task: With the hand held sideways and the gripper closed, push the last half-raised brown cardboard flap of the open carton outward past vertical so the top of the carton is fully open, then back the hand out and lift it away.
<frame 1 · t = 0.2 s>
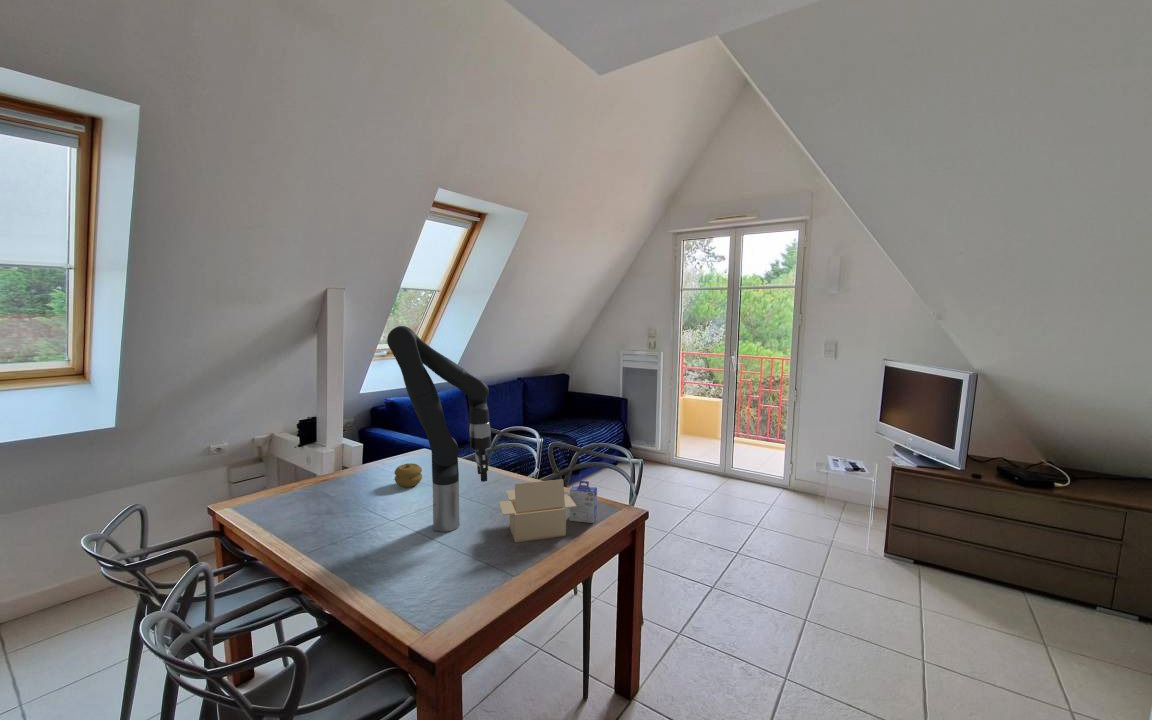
hand: (482, 477, 174), 17 cm above the table, tool pointing down, fingers open, 8 cm apart
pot: (408, 485, 212), on the table
carton: (537, 531, 169), on the table
near flap: (540, 495, 163), point 15 cm above the table, hinge at 75.0°
ink cartridge box: (583, 519, 179), on the table
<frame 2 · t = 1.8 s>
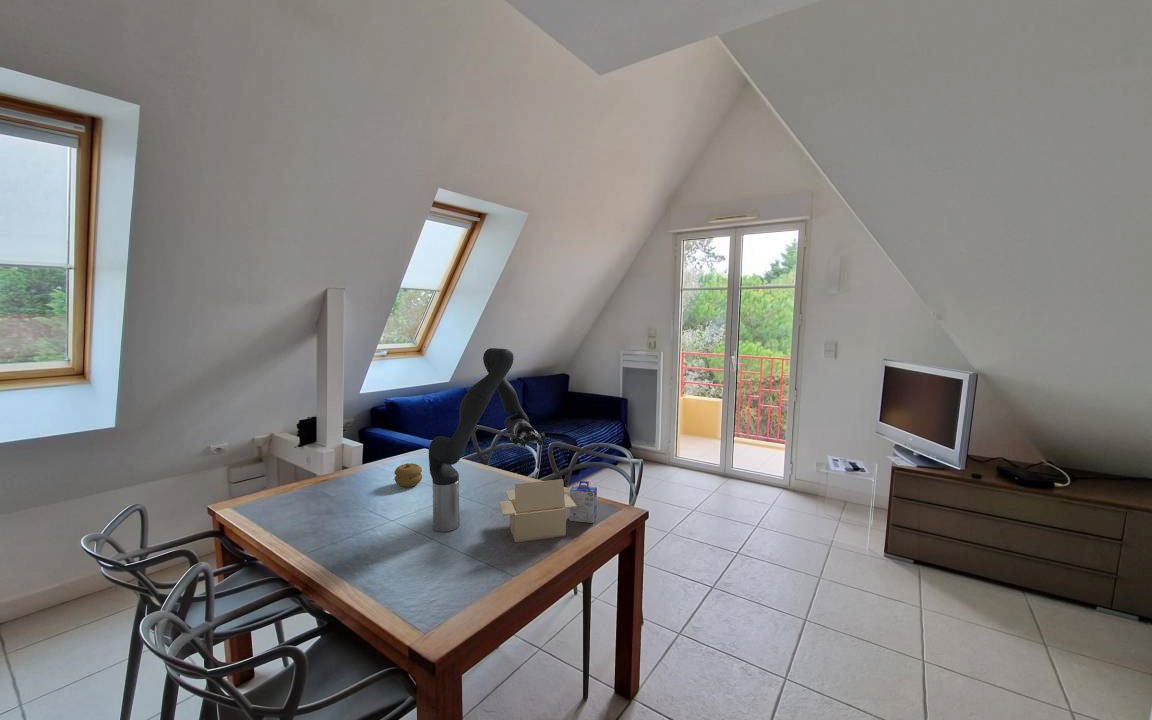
hand: (532, 443, 174), 30 cm above the table, tool horizontal, fingers open, 5 cm apart
nothing on the table moved.
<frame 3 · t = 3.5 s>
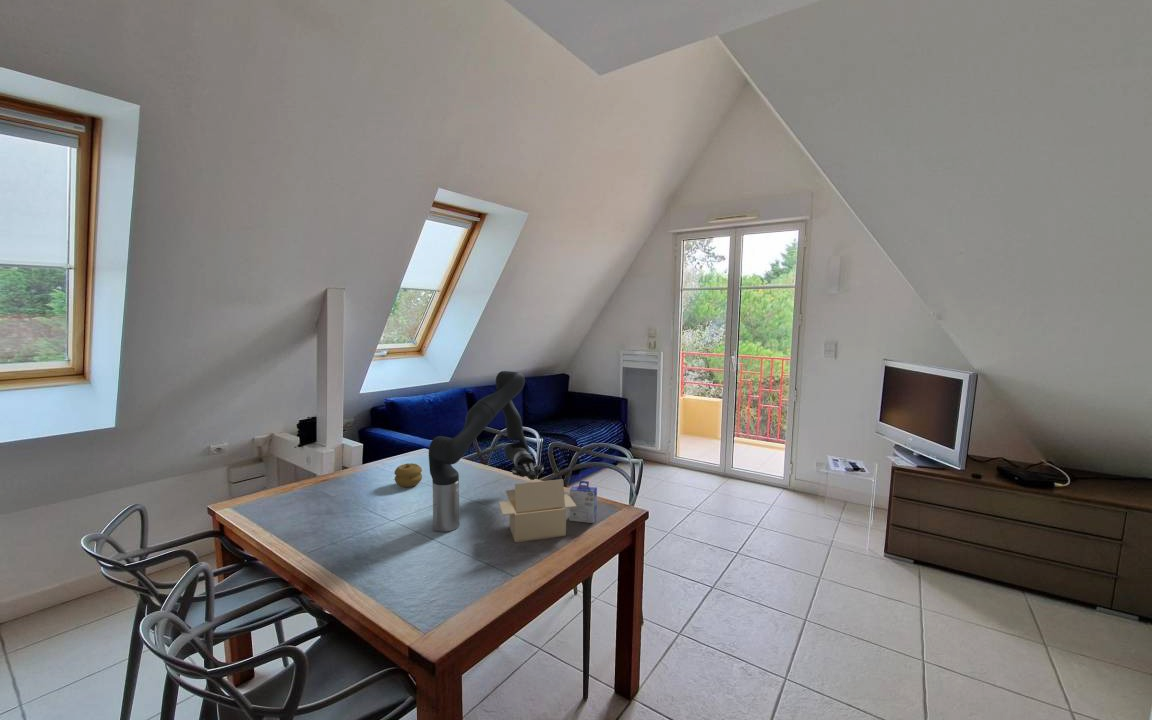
hand: (532, 477, 175), 17 cm above the table, tool horizontal, fingers closed
nothing on the table moved.
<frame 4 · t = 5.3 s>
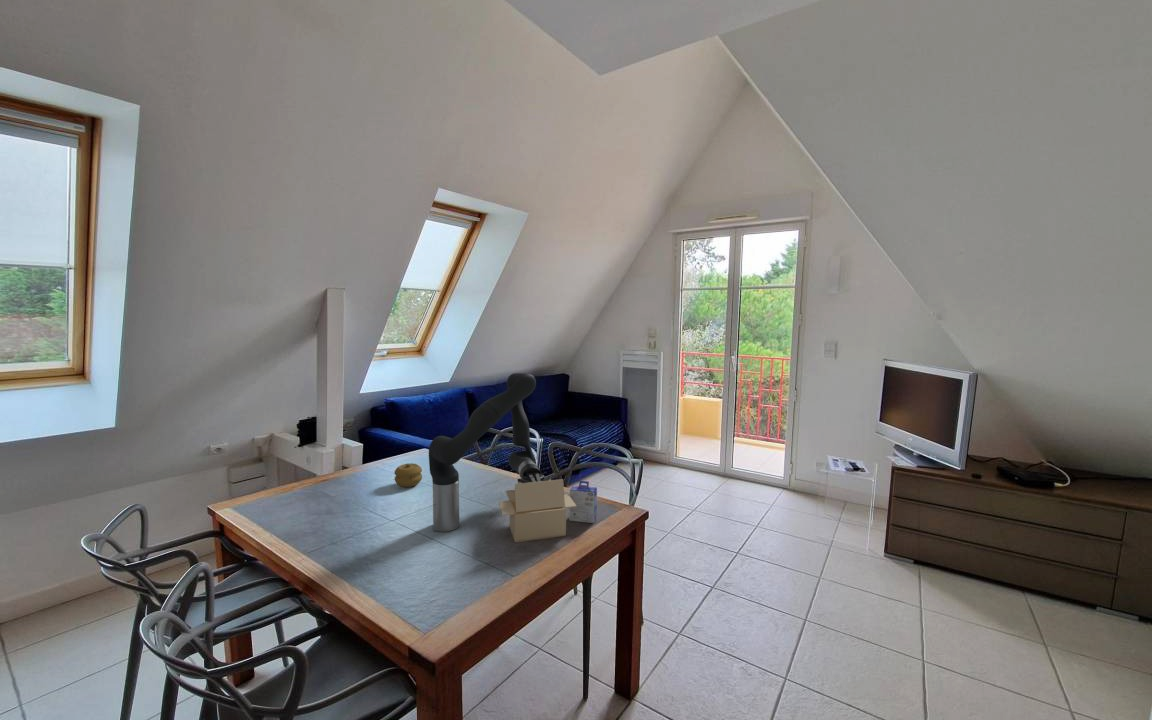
hand: (539, 489, 164), 17 cm above the table, tool horizontal, fingers closed
near flap: (540, 495, 163), point 15 cm above the table, hinge at 75.0°, touching gripper
everything else where it was.
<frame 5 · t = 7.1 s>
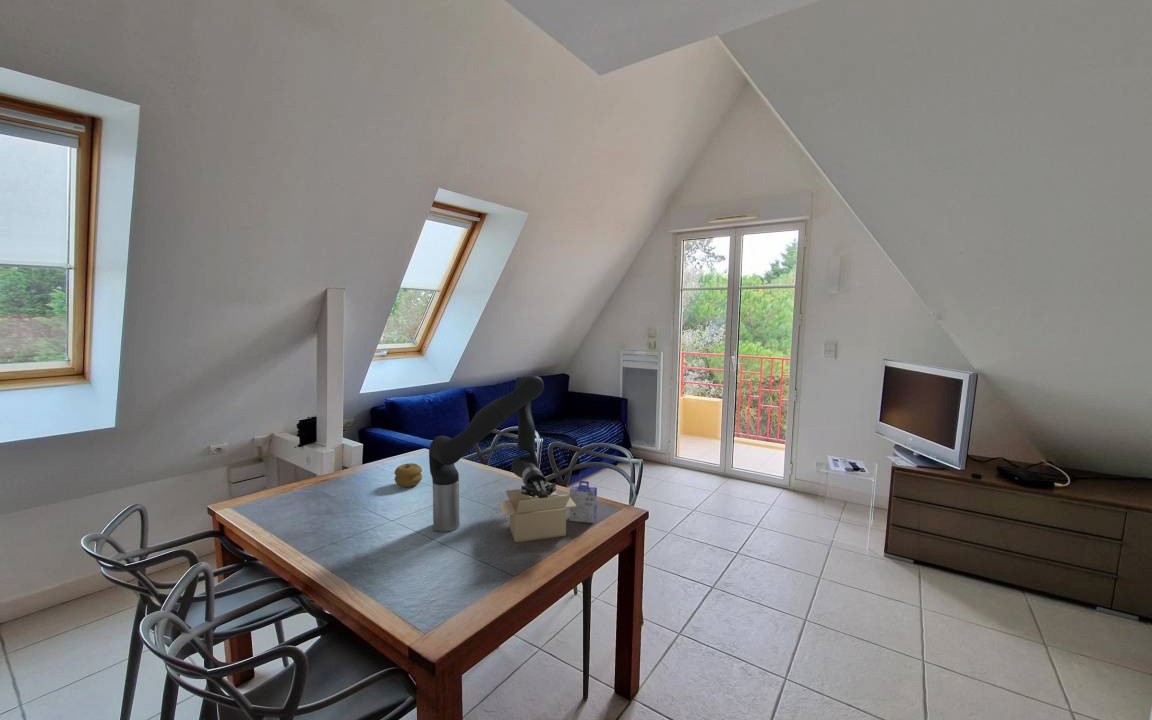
hand: (544, 497, 157), 17 cm above the table, tool horizontal, fingers closed
near flap: (543, 504, 159), point 14 cm above the table, hinge at 134.3°, touching gripper
everything else where it was.
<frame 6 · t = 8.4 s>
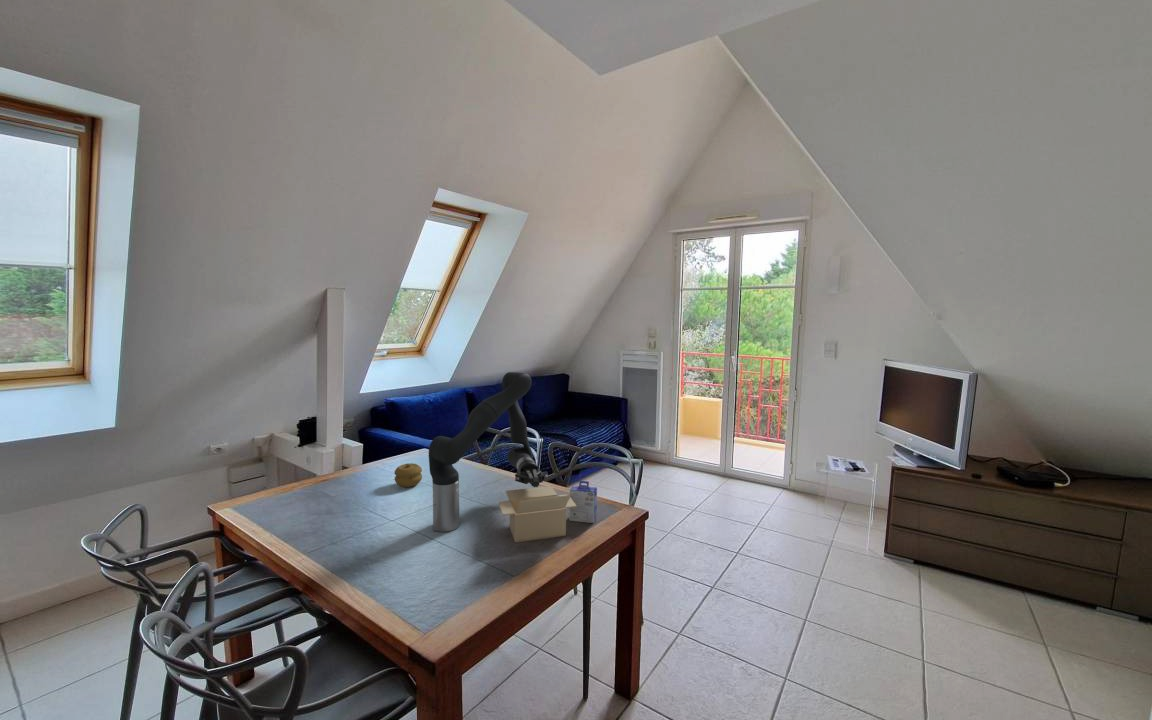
hand: (536, 484, 169), 17 cm above the table, tool horizontal, fingers closed
near flap: (543, 504, 159), point 14 cm above the table, hinge at 134.6°
everything else where it was.
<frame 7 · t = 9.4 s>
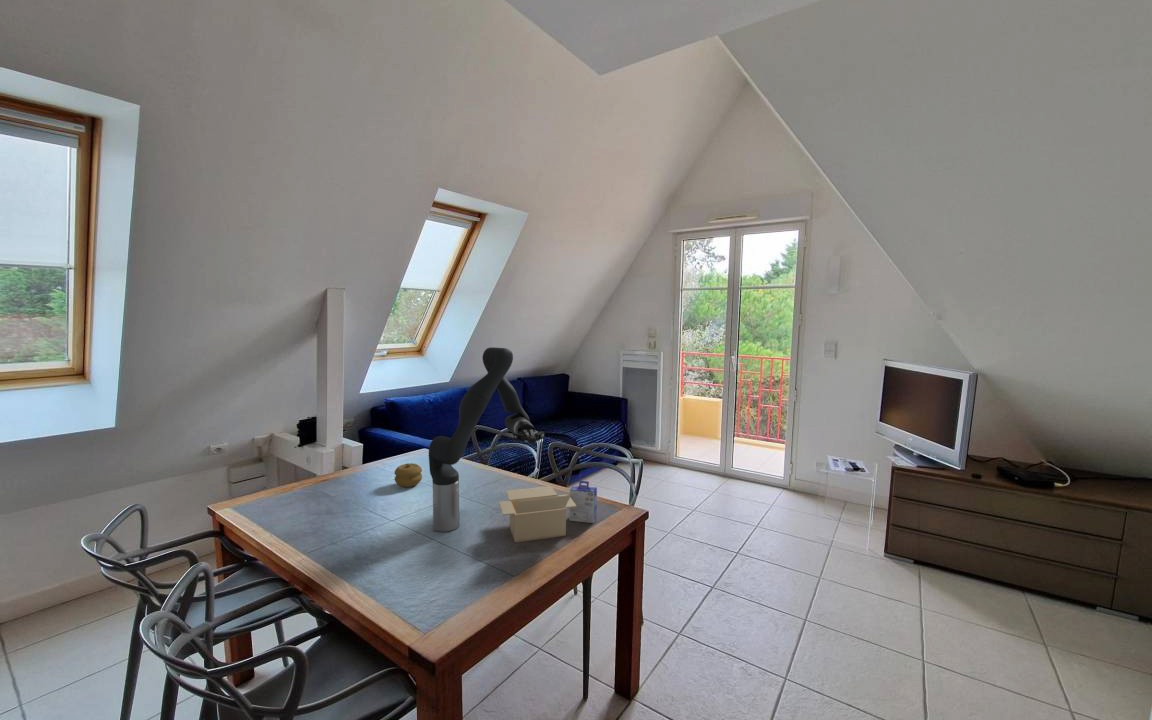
hand: (532, 441, 173), 31 cm above the table, tool horizontal, fingers closed
nothing on the table moved.
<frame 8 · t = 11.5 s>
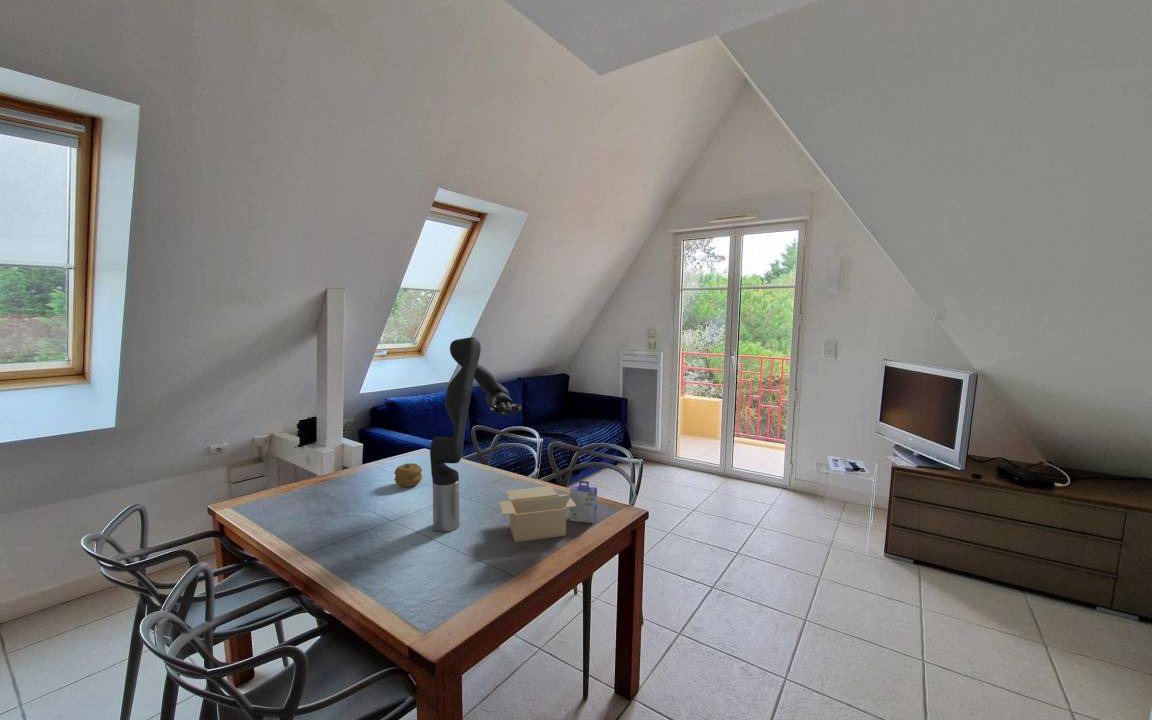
hand: (509, 412, 180), 40 cm above the table, tool horizontal, fingers closed
nothing on the table moved.
at the end: near flap at +135° (first picture: +75°); ink cartridge box moved 0.3 cm from its start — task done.
